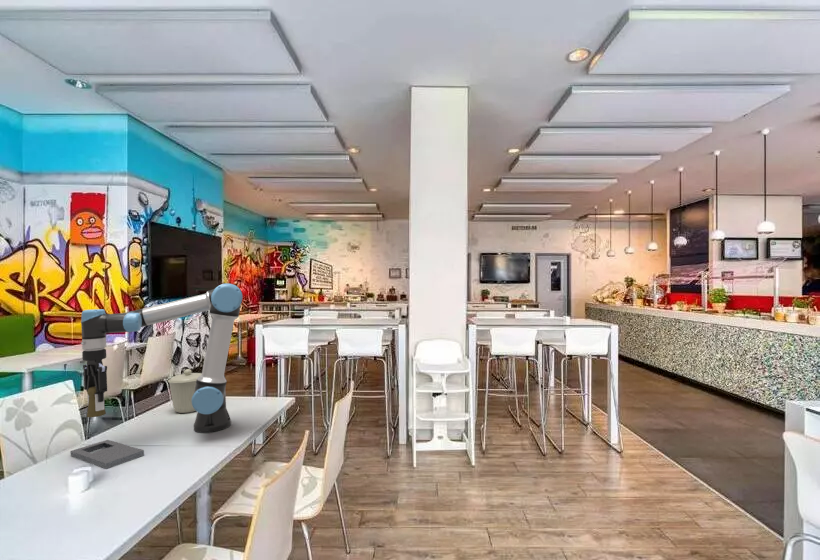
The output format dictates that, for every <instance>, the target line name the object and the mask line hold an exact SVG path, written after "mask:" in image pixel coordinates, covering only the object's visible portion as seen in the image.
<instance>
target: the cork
mask: <svg viewBox="0 0 820 560" xmlns="http://www.w3.org/2000/svg"><path fill="white" fill-rule="evenodd" d="M94 393H96V387H95V386H94V387H91V388H89V389H88V391H86V394H87V396H88V395H89V402H88V401H87V411H86V418H97V417H102V416H104V415H106V408H105V406H104V410H100V411H96V410H95V394H94Z"/></svg>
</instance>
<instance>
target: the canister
mask: <svg viewBox="0 0 820 560" xmlns="http://www.w3.org/2000/svg"><path fill="white" fill-rule="evenodd" d="M201 375H202V372H192V370H191V369H190V368H187V369H184V370H183V373H181V374H177V375H175V376H172V377H171V378H170V379H168V380H167V383H169V390H170V395H171V401H172V406H173V409H174V411H175V412H176V413H179V414H188V413H189V414H190V413H194V412H197V411H196V410H195V409H194V408H193V406H192V396H193V394H194V391H195V386H196V380H197V378H198V377H199V376H201Z"/></svg>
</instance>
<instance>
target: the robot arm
mask: <svg viewBox="0 0 820 560" xmlns="http://www.w3.org/2000/svg"><path fill="white" fill-rule="evenodd" d="M243 297H244V296H243V292H242V290H241V289H240V287H239V286H237V285H235V284H233V283H222V284H220V285H218V286H216V287H215V288H213V289H210V290H209V289H208V290H207V291H206V293H202V294H199V295H194V296H190V297H185V298H181V299H178V300H174V301H169V302H165V303H161V304H155V305H152V306H147V307H144V308H140V309H136V310H131V311H127V312H122V313H106V310H105V309H102V308H101V309H96V308H94V309H85V310H83V311H82V312H81V318H80V319H81V320H80V323H81V324H80V325H81V327H80V328H81V339H82V340H81V342H80V344H81V347H82V348H81V349H82V350H83V351H81V352H82V353H81V355H82V361H84V362H86V364H83V365H82V369H83V390H84V391H86V392H87V391H88V389H89V388H91V387H94V386H95V387H96V393H94V394H95V410H96V411H100V410H104V407H105V393H106V392H108V373H107V371H108V365H104V363H103V360H105V359H106V358H107V349H106V347H107V334H112V333H113V334H114V333H134V332H139V331H140V330H141V328H144V327H147V326H151V325H154V324H160V323H163V322H166V321H171V320H175V319H178V318H179V319H180V318H183V317H187V316H191V315H195V314H199V313H204V312H208V311H209V316H210V317H212V319H211V323H210V329H209V334H208V339H207V343H206V349H205V356H204V361H203V366H202V370H201V373H202V375H201V376H199V377H198V378H197V380H196V386H195V391H194V394H193V396H192V406H193V408H194V409H195V410H196V411H195V412H197V413H196V417H195V421H194V423H193V431H194V432H196V433H201V434H202V433H212V432H218V431H222V430H225V429H227V428H229V427H230V426H231V424H232V420H231V416H230V413H229V412H228V409H227V395H226V394H227V393H226V387H227V386H226V385H227V382H228V381H227V379H226V377H225V373H226V372H225V371H226V365H227V361H228V355H229V350H230V345H231V339H232V334H233V328H234V323H235V320H237V319H238V318H239V317H240V312H241V306H242V301H243V299H244V298H243ZM88 402H89V395H88V394H87V403H88Z"/></svg>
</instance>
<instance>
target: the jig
mask: <svg viewBox="0 0 820 560" xmlns="http://www.w3.org/2000/svg"><path fill="white" fill-rule="evenodd" d="M144 456H145V450H144V449H141V448H138V447H134V446H132V445H127V444H124V443H121V442H117V441H114V440H110V439H106V440H103V441H102V440H101V441H99V442H96V443H95V442H94V443H92V444H89V445H86V446H83V447H79V448H76V449H73V450H70V457H71V458H75V459H77V460H79V461H83V462H86V463H88V464H92V465H93V464H94V466H97V467H99V468H101V469H102V468H103V469H104V470H105V469H106V470H107V469H110V468H113V467H116V466H119V465H122V464H124V463H127V462H131V461H132V460H136V459H138V458H139V459H140V457H144Z"/></svg>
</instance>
